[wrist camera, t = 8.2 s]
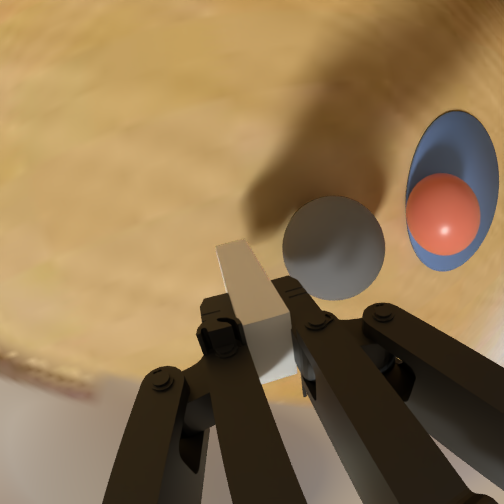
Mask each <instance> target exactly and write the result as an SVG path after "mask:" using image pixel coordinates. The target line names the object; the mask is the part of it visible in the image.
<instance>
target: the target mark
mask: <svg viewBox="0 0 504 504" xmlns="http://www.w3.org/2000/svg"><path fill="white" fill-rule="evenodd" d="M436 173H447V174H451V175H454V176H457V177H458V178H460V179H462V180H463V181H464V182H466V183H467V184H468V185H469V186H470V188H471V189H472V190H473V192H474V194H475V195H476V197H477V200H478V203H479V207H480V225H479V229H478V232H477V234H476V236H475V238H474V240H473V241H472V242H471V244H470V245H469V246H468V247H467V248H465V249H464V250H462V251H461V252H459V253H456V254H453V255H446V256H442V255H437V254H433V253H431V252H428V251H427V250H425V249H424V248H422V247H421V246H420V245H419V244H418V243H417V242H416V240H415V239H414V238H413V236H412V234H411V232H410V230H409V227H408V224H407V229H408V234H409V238H410V241H411V244H412V247H413V249H414V251H415V253H416V255H417V256H418V258H419V259H420V260H421V262H423V263H424V264H425V265H426V266H427V267H429V268H431V269H433V270H436V271H449V270H452V269H455V268H457V267H459V266H461V265H462V264H464V263H465V262H466V261H467V260H468V259H469V258H470V257H471V256H472V255H473V254H474V253H475V252H476V251H477V249H478V248H479V246H480V245H481V244H482V242H483V240H484V238H485V237H486V235H487V232H488V230H489V228H490V225H491V223H492V220H493V217H494V213H495V209H496V205H497V199H498V190H499V171H498V162H497V157H496V153H495V149H494V146H493V143H492V141H491V139H490V136H489V135H488V133H487V131H486V129H485V128H484V127H483V125H482V124H481V123H480V122H479V121H478V120H477V119H476V118H474V117H473V116H472V115H470V114H468V113H465V112H460V111H452V112H448V113H445V114H443V115H441V116H440V117H438V118H437V119H436V120H435V121H433V123H432V124H431V125H430V126H429V127H428V128H427V130H426V131H425V133H424V135H423V136H422V138H421V140H420V142H419V144H418V146H417V149H416V151H415V154H414V157H413V160H412V164H411V167H410V172H409V177H408V182H407V191H406V206H407V201H408V198H409V195H410V193H411V191H412V190H413V188H414V187H415V186H416V184H417V183H418V182H419V181H421V180H422V179H423V178H425V177H427V176H429V175H432V174H436ZM406 221H407V218H406Z"/></svg>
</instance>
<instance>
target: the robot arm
mask: <svg viewBox="0 0 504 504" xmlns="http://www.w3.org/2000/svg"><path fill="white" fill-rule="evenodd" d="M215 249H216V253H217V257H218V261H219V265H220V269H221V273H222V277H223V281H224V285H225V289H226V293H225V294H221V295H217V296H213V297H209V298H205V299H204V300H203V302H202V304H201V306H200V311H201V319H202V324H201V325H200V326H199V327H198V329H197V333H196V336H197V338H198V341H199V344H200V346H201V349H202V352H203V354H204V356H203V357H202V358H201V360H200V361H199V362H198V363H196V364H195V365H193V366H192V367H190V368H188V369H186V370H184V371H182V372H181V370H180V369H178V368H176V367H172V366H164V367H159V368H157V369H155V370H152V371H151V372H150V373H149V374H147V375H146V376H145V378H144V379H143V381H142V383H141V386H140V389H139V391H138V394H137V397H136V400H135V403H134V405H133V408H132V411H131V414H130V417H129V420H128V423H127V426H126V428H125V431H124V434H123V437H122V441H121V444H120V446H119V450H118V453H117V456H116V459H115V462H114V465H113V468H112V472H111V475H110V479H109V482H108V485H107V489H106V492H105V496H104V499H103V503H102V504H201V498H202V489H203V481H204V472H205V464H206V456H207V448H208V440H209V432H210V427H212V426H214V425H215V424H216V429H217V434H218V439H219V444H220V449H221V454H222V459H223V464H224V468H225V473H226V477H227V481H228V486H229V490H230V494H231V498H232V502H233V504H307V502H306V499H305V497H304V495H303V492H302V490H301V487H300V485H299V482H298V480H297V477H296V475H295V472H294V470H293V467H292V465H291V462H290V459H289V457H288V454H287V452H286V449H285V447H284V444H283V441H282V439H281V436H280V433H279V431H278V428H277V426H276V423H275V420H274V418H273V415H272V412H271V409H270V407H269V404H268V401H267V398H266V396H265V393H264V390H263V387H262V385H261V384H264V383H268V382H271V381H275V380H278V379H281V378H284V377H288V376H291V375H294V374H297V367H298V368H299V370H300V372H301V380H302V390H303V397H306V396H307V394H308V396H309V398H310V400H311V402H312V404H313V406H314V408H315V410H316V412H317V414H318V416H319V418H320V420H321V422H322V424H323V426H324V428H325V430H326V432H327V434H328V436H329V438H330V440H331V442H332V444H333V446H334V448H335V450H336V452H337V454H338V456H339V458H340V460H341V462H342V464H343V466H344V468H345V470H346V471H347V473H348V475H349V477H350V479H351V481H352V483H353V485H354V487H355V489H356V491H357V493H358V495H359V497H360V499H361V500H362V502H363V504H498V503H497V502H496V501H495V500H494V499H493V498H491V497H489V496H487V495H484V494H476V493H474V492H472V491H471V490H470V489H469V488H468V487H467V486H466V484H465V483H464V482H463V480H462V479H461V477H460V476H459V475H458V473H457V472H456V471H455V469H454V468H453V467H452V465H451V464H450V462H449V461H448V460H447V458H446V457H445V456H444V454H443V453H442V452H441V450H440V449H439V447H438V446H437V445H436V444H435V442H434V441H433V439H432V438H431V437H430V435H431V436H432V437H433V438H435V439H436V440H437V441H438V442H440V443H441V444H442V445H444V446H445V447H446V448H447V449H449V450H450V451H451V452H453V453H454V454H455V455H456V456H458V457H459V458H461V459H462V460H463V461H464V462H466V463H467V464H468V465H470V466H471V467H472V468H474V469H475V470H476V471H478V472H479V473H480V474H482V475H483V476H484V477H486V478H487V479H489V480H490V481H491V482H493V483H494V484H496V485H497V486H498V487H500V488H501V489H502V490H504V368H503V367H501V366H500V365H498V364H496V363H495V362H493V361H491V360H490V359H488V358H486V357H485V356H483V355H481V354H480V353H478V352H476V351H474V350H473V349H471V348H469V347H468V346H466V345H464V344H462V343H461V342H459V341H457V340H456V339H454V338H452V337H450V336H449V335H447V334H445V333H443V332H442V331H440V330H438V329H436V328H435V327H433V326H431V325H429V324H428V323H426V322H424V321H422V320H421V319H419V318H417V317H415V316H414V315H412V314H410V313H408V312H406V311H405V310H403V309H401V308H399V307H398V306H395V305H393V304H390V303H375V304H373V305H370V306H368V307H367V308H366V309H365V310H364V312H363V316H362V318H359V319H351V320H339V319H338V318H337V317H336V316H335V315H333V314H332V313H330V312H327V311H322V310H321V309H320V308H319V306H318V305H317V304H316V303H315V301H314V300H313V299H312V297H311V296H310V295H309V294H308V293H307V291H306V290H305V289H304V288H303V286H302V285H301V283H300V282H299V281H298V280H297V279H295V278H293V277H291V276H285V277H281V278H278V279H274V280H270V279H269V277H268V276H267V274H266V272H265V271H264V269H263V267H262V266H261V264H260V262H259V261H258V259H257V258H256V256H255V254H254V253H253V251H252V249H251V248H250V246H249V244H248V243H247V241H246V240H245V239H241V240H237V241H233V242H229V243H225V244H221V245H217V246H215ZM396 357H397V358H396ZM398 358H399V359H400V360H399V359H398ZM401 360H402V361H401ZM296 365H297V367H296ZM306 392H307V394H306Z"/></svg>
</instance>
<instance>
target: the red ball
mask: <svg viewBox="0 0 504 504" xmlns="http://www.w3.org/2000/svg"><path fill="white" fill-rule="evenodd" d="M406 218H407V224H408V227H409V230H410V232H411V234H412V236H413V238H414V239H415V240H416V242H417V243H418V244H419V245H420V246H421V247H422V248H424V249H425V250H427V251H428V252H431V253H433V254H437V255H442V256H446V255H453V254H456V253H459V252H461V251H462V250H464V249H465V248H467V247H468V246H469V245H470V244H471V242H472V241H473V240H474V238H475V236H476V234H477V232H478V229H479V225H480V207H479V203H478V200H477V197H476V195H475V194H474V192H473V190H472V189H471V188H470V186H469V185H468V184H467V183H466V182H464V181H463V180H462V179H460V178H458V177H457V176H454V175H451V174H447V173H436V174H432V175H429V176H427V177H425V178H423V179H422V180H421V181H419V182H418V183H417V184H416V186H415V187H414V188H413V190H412V191H411V193H410V195H409V198H408V201H407V206H406Z"/></svg>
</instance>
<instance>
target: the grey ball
mask: <svg viewBox="0 0 504 504" xmlns="http://www.w3.org/2000/svg"><path fill="white" fill-rule="evenodd" d="M282 248H283V258H284V263H285V266H286V268H287V270H288V272H289V274H290V276H291V277H293V278H295V279H297V280H298V281H299V282H300V283H301V285H302V286H303V288H304V289H305V290H306V291H307V293H308V294H310V295H312V296H314V297H317V298H320V299H324V300H343V299H348V298H351V297H354V296H356V295H358V294H359V293H361V292H362V291H364V290H365V289H366V288H368V287H369V286H370V285H371V284H372V282H373V281H374V280H375V279H376V277H377V276H378V274H379V272H380V270H381V267H382V265H383V261H384V255H385V241H384V236H383V232H382V229H381V227H380V225H379V223H378V221H377V219H376V218H375V216H374V215H373V214H372V213H371V212H370V211H369V210H368V209H367V208H366V207H365V206H363V205H362V204H360V203H359V202H357V201H355V200H353V199H350V198H347V197H342V196H326V197H321V198H318V199H315V200H313V201H311V202H309V203H307V204H306V205H304V206H303V207H301V208H300V209H299V210H298V211H297V212H296V213H295V215H294V216H293V217H292V218H291V220H290V222H289V224H288V226H287V228H286V230H285V234H284V238H283V246H282Z"/></svg>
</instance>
